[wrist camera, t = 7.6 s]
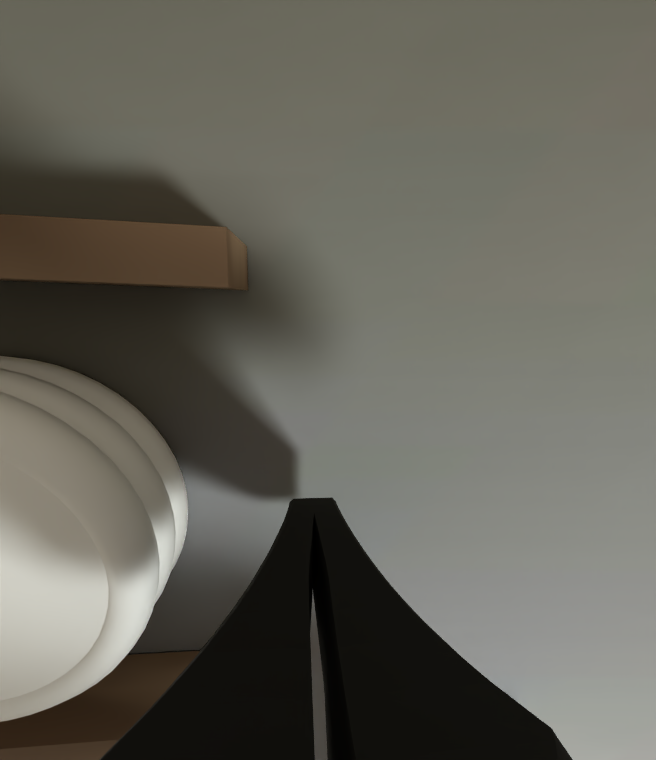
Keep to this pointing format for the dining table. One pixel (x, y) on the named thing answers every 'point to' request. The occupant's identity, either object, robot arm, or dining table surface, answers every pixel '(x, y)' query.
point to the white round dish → (77, 531)
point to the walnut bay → (132, 268)
